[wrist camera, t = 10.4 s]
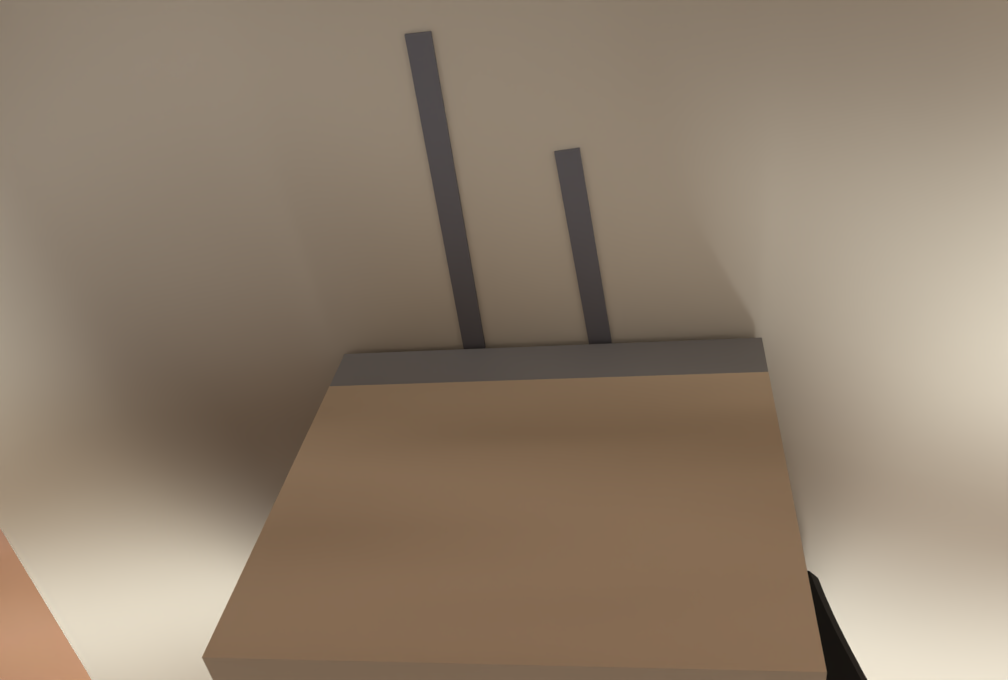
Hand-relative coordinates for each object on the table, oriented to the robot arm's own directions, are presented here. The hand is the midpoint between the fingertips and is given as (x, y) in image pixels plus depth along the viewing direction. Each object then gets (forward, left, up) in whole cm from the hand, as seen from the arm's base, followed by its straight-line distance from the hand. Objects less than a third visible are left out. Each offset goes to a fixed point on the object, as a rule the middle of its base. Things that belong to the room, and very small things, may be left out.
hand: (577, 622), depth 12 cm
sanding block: (0, 0, 0) cm, 0 cm away
